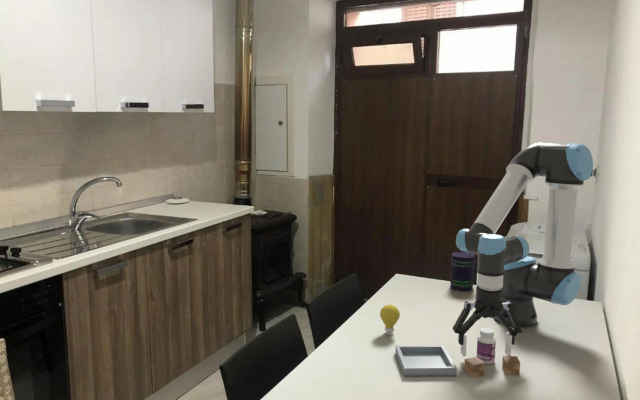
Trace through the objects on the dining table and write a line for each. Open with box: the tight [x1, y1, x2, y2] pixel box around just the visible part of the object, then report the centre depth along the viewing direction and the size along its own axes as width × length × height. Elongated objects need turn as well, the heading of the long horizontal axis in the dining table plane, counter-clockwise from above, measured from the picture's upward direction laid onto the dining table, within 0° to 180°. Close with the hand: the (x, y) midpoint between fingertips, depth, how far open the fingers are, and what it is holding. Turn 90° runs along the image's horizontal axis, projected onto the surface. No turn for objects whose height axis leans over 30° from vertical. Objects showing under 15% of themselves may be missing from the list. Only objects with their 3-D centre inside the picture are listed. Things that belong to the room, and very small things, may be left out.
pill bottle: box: [476, 327, 497, 365], centre depth 157 cm, size 5×5×10 cm
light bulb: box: [379, 304, 401, 335], centre depth 177 cm, size 7×7×10 cm
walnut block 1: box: [463, 356, 486, 379], centre depth 149 cm, size 4×4×4 cm
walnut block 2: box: [501, 355, 521, 376], centre depth 150 cm, size 4×4×4 cm
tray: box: [395, 344, 458, 378], centre depth 155 cm, size 15×15×2 cm
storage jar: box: [449, 251, 476, 292], centre depth 225 cm, size 10×10×15 cm
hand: (485, 354), depth 157 cm, fingers open, 13 cm apart
